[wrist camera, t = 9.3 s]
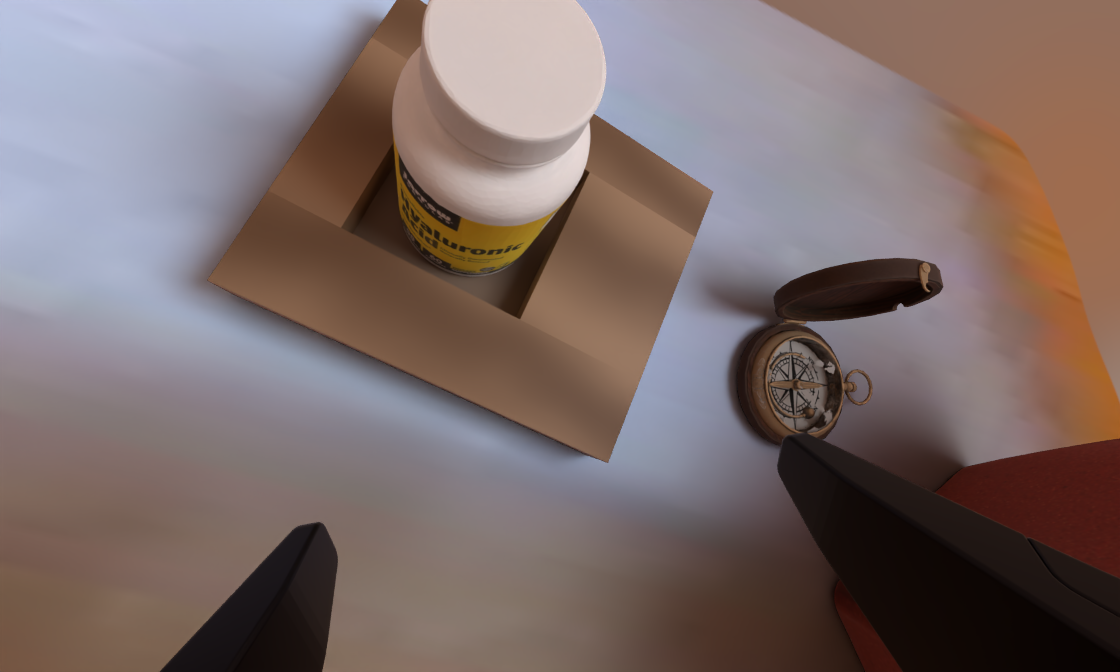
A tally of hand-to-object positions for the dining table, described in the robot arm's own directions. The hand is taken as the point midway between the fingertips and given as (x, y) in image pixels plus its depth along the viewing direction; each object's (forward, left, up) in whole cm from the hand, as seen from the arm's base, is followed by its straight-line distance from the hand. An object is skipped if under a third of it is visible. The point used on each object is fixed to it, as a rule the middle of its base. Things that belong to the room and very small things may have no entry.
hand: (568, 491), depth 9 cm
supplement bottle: (+8, +5, -10) cm, 13 cm away
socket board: (+8, +3, -10) cm, 13 cm away
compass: (+9, -13, -10) cm, 19 cm away
